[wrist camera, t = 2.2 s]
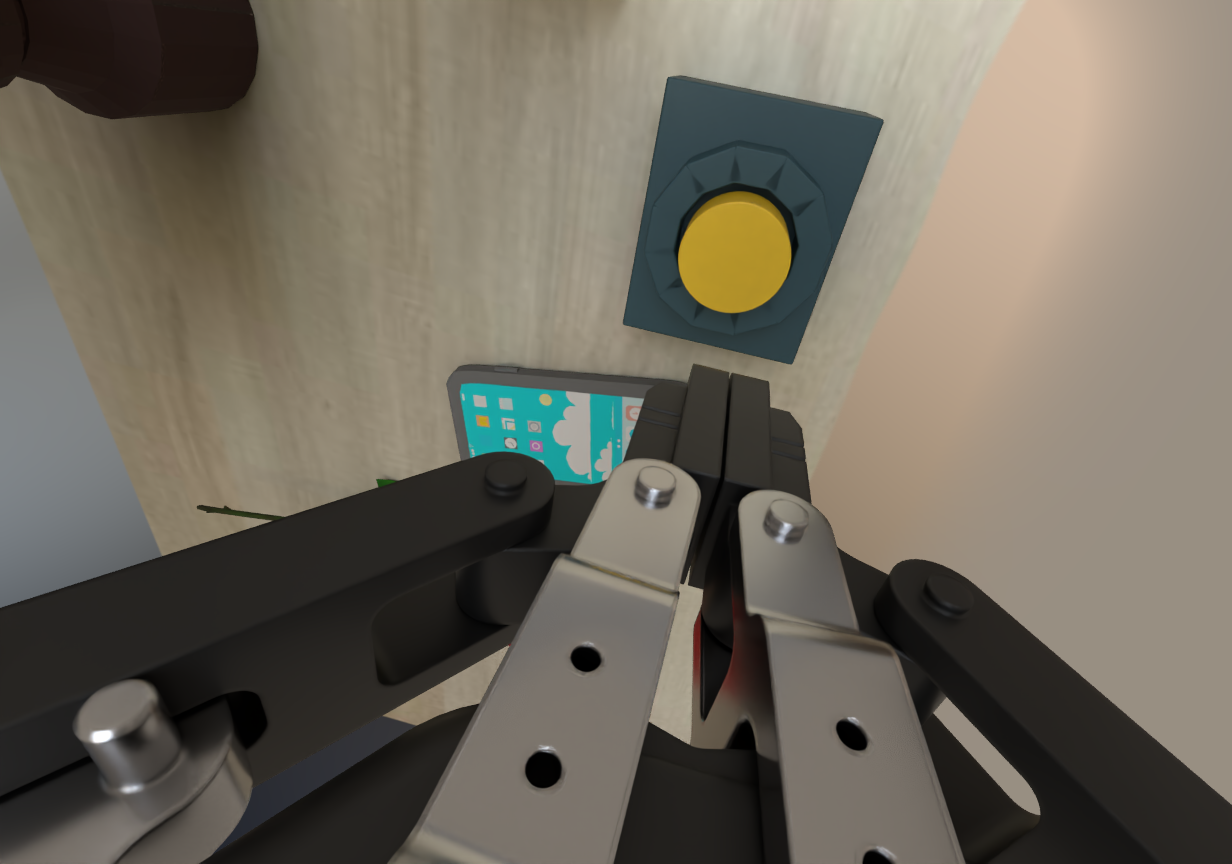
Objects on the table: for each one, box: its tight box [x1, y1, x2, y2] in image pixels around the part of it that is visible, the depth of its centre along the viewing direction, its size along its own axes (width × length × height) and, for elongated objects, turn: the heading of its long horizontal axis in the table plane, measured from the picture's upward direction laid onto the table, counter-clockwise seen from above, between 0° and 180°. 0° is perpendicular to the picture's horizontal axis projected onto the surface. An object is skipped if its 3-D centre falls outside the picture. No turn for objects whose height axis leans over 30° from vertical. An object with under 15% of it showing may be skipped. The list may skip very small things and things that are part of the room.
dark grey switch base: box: [623, 76, 883, 364], centre depth 24 cm, size 10×8×6 cm
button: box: [678, 191, 791, 313], centre depth 21 cm, size 4×4×2 cm
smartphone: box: [446, 365, 687, 485], centre depth 35 cm, size 9×1×15 cm
